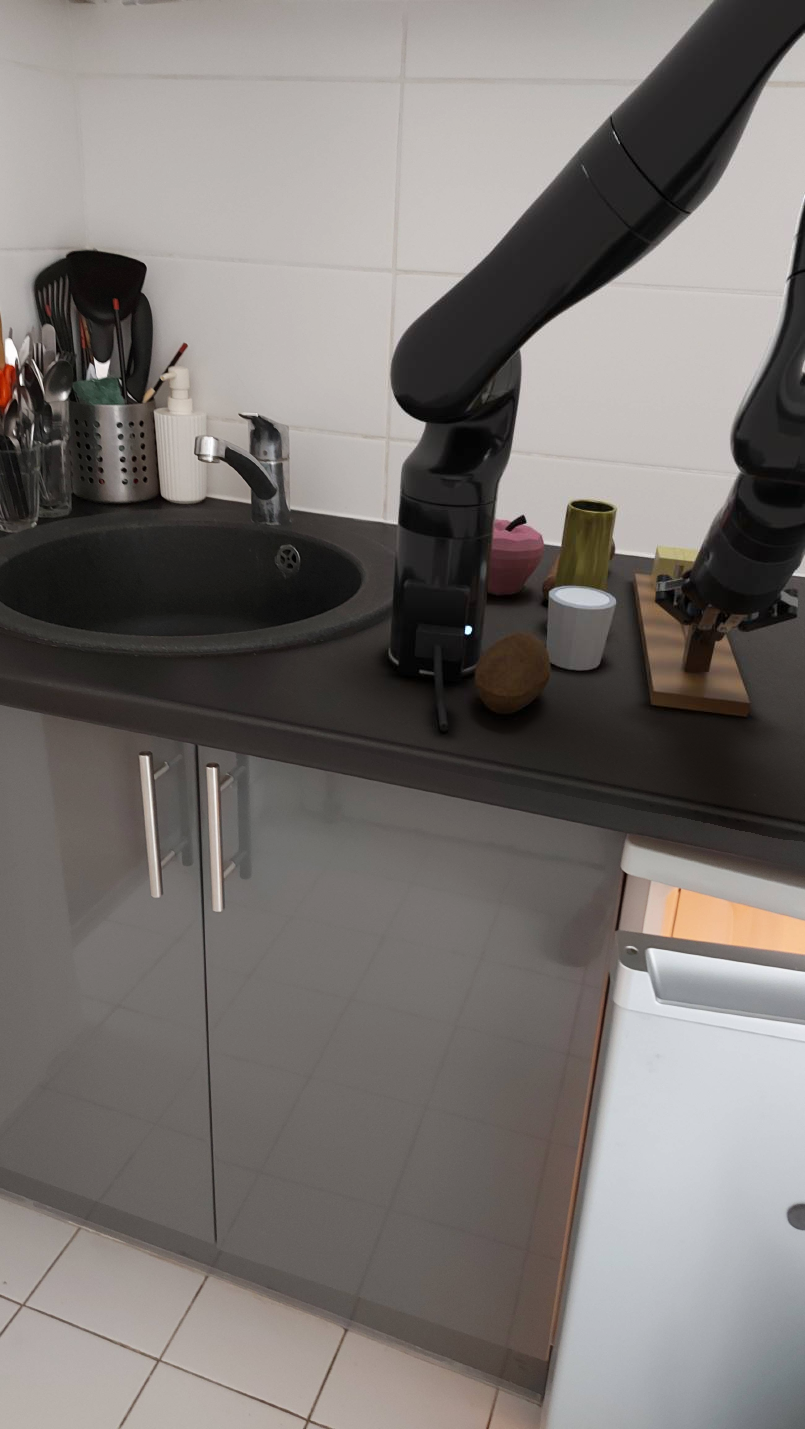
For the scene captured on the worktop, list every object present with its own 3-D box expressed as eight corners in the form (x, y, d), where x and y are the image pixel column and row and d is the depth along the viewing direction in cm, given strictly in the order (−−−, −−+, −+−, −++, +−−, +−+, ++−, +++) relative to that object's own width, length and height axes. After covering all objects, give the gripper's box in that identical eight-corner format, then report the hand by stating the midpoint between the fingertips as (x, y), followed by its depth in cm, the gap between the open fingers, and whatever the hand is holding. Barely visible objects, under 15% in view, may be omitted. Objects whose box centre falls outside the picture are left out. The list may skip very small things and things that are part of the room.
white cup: (565, 676, 101) (575, 611, 98) (527, 651, 107) (535, 588, 104) (619, 667, 104) (630, 603, 101) (579, 642, 110) (589, 581, 107)
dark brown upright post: (708, 672, 100) (727, 588, 96) (684, 669, 100) (701, 585, 96) (690, 608, 116) (705, 534, 112) (669, 606, 117) (683, 532, 113)
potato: (458, 724, 90) (465, 653, 87) (485, 675, 100) (492, 609, 97) (533, 738, 89) (542, 666, 86) (552, 687, 99) (562, 621, 96)
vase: (550, 640, 110) (569, 511, 103) (541, 620, 115) (558, 496, 109) (606, 643, 110) (627, 515, 104) (594, 622, 116) (614, 499, 109)
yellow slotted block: (695, 593, 122) (702, 562, 121) (653, 588, 123) (659, 557, 121) (691, 580, 127) (697, 549, 125) (651, 576, 127) (656, 545, 125)
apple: (523, 579, 127) (532, 501, 123) (549, 604, 120) (560, 522, 115) (451, 581, 125) (458, 502, 120) (472, 606, 118) (481, 523, 113)
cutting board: (746, 717, 96) (750, 702, 95) (650, 705, 97) (653, 691, 96) (704, 592, 128) (707, 581, 127) (633, 584, 129) (635, 573, 128)
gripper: (837, 518, 82) (776, 608, 98) (671, 501, 83) (639, 592, 100) (834, 602, 80) (772, 680, 96) (664, 583, 81) (632, 662, 98)
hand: (704, 635), depth 98 cm, fingers closed
